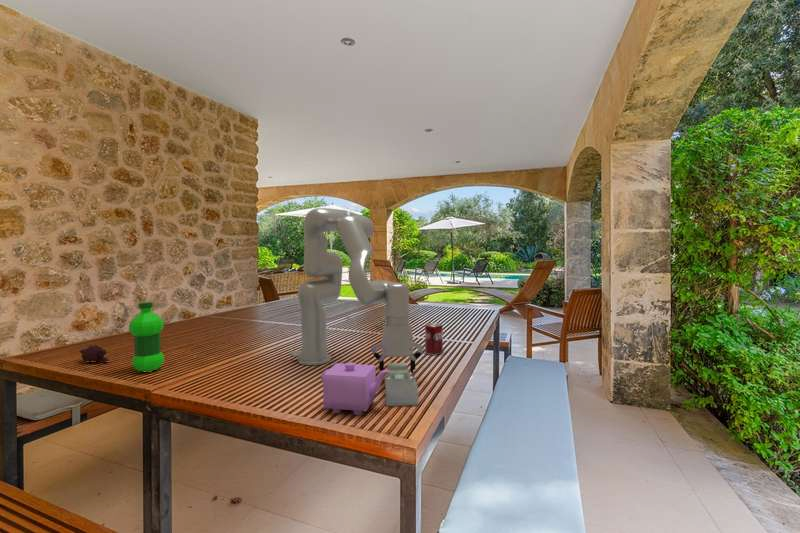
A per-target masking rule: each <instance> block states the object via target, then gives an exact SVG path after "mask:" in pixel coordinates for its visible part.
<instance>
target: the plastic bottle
mask: <svg viewBox="0 0 800 533" xmlns="http://www.w3.org/2000/svg"><path fill="white" fill-rule="evenodd" d="M153 307H154V302H153V301H143V302H139V303H138V309H140V313H138V314H137V315H136V316H135V317H134V318H132V320H130V322H129V324H128V329H129V330H128V331H129V333H130V334H131V335H133V343H134V344H133V346H134V356H133V358H132V360H131V365H132V366H133V368H134V369H135V370H136V371H138V372H140V371H151V370H155V369H157V370H158V369H159V368H160V367H161V366H162V365H163V364H164V361H165V356H164V353H163V352H162V351H161V350H162V349H161V348H162V347H161V345H162V344H161V332H162V331H163V329H164V325H165V321H164V320H163V318H162V317H160V316H159V315H158V314H157V313H155V312H152V308H153Z"/></svg>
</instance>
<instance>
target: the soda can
mask: <svg viewBox="0 0 800 533" xmlns="http://www.w3.org/2000/svg"><path fill="white" fill-rule="evenodd" d="M443 328H444V327H443V324H442V323H439V322H429V323H426V324H425V325H424V353H425V354H427V355H428V354H430V355H429V356H439V355H438V354H440V355H441V353H442V354H443V352H444V351H443V349H444V348H443V347H444V345H443V344H444V343H443V341H444V340H443V339H444V338H443V334H444V333H443V332H444V331H443Z"/></svg>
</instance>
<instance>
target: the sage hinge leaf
mask: <svg viewBox="0 0 800 533" xmlns="http://www.w3.org/2000/svg"><path fill="white" fill-rule="evenodd" d="M386 366H387V368H386V370H390V372H388V373H386V376H392V379H399V378H407V375H410V371H409V370H410V369H409V366H408V364H407V362H388V363H387V364H386Z"/></svg>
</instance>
